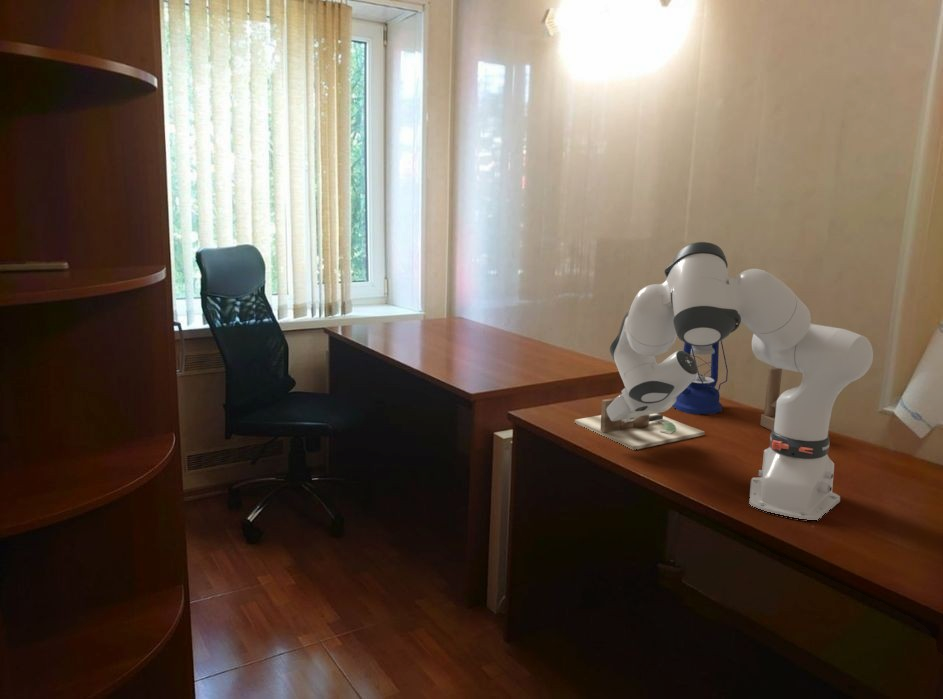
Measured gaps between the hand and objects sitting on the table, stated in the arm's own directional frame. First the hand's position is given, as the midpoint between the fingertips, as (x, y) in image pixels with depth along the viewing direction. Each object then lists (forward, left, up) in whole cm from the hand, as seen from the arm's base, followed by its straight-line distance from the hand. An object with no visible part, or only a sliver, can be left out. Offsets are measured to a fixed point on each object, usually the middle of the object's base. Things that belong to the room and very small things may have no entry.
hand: (627, 419), depth 197 cm
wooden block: (+30, -34, -6) cm, 46 cm away
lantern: (+40, -8, -6) cm, 42 cm away
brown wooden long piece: (+8, +1, -4) cm, 9 cm away
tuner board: (+9, 0, -5) cm, 11 cm away
